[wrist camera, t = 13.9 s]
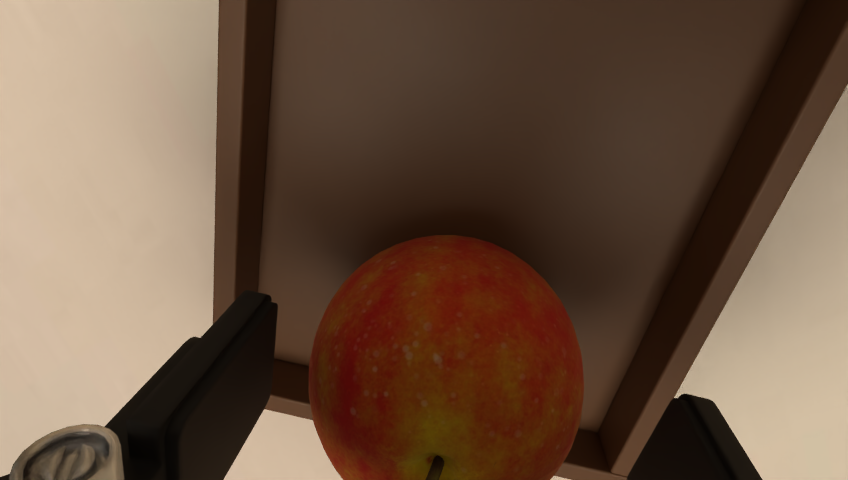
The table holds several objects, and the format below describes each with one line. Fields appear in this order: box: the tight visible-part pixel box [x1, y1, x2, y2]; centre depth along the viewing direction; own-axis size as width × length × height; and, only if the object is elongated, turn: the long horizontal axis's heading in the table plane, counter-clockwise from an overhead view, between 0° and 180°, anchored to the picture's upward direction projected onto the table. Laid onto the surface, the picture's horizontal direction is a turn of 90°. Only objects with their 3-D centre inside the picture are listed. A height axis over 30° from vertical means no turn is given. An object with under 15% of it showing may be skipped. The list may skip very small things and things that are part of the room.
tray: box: [213, 0, 848, 480], centre depth 14 cm, size 17×14×2 cm
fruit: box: [309, 235, 584, 480], centre depth 12 cm, size 7×7×8 cm
